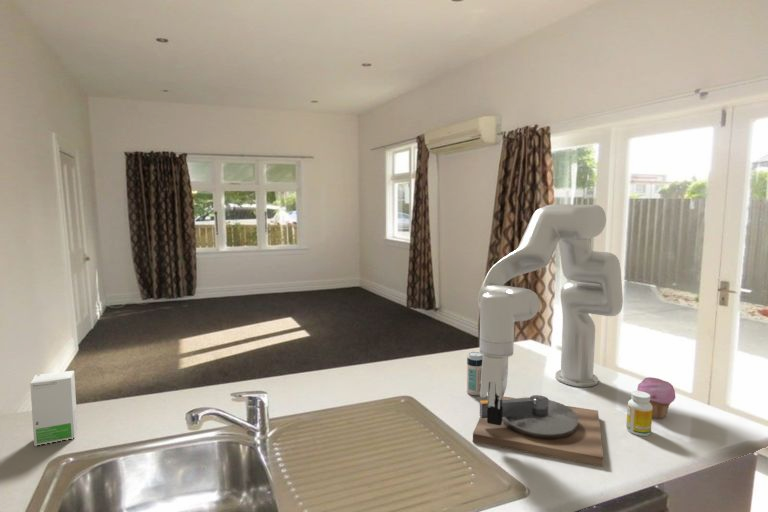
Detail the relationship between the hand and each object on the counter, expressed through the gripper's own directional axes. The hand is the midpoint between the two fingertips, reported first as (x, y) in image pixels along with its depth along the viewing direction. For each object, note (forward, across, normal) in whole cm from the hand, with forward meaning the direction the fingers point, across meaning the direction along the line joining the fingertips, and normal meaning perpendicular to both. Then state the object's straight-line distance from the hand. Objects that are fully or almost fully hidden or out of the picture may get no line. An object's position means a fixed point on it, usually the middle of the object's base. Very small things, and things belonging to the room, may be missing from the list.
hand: (494, 422), depth 107 cm
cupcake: (+6, -31, +37) cm, 48 cm away
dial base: (+6, -12, +9) cm, 16 cm away
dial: (+3, -10, +6) cm, 13 cm away
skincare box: (+6, +35, -100) cm, 106 cm away
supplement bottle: (+6, -20, +32) cm, 38 cm away
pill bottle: (+6, -28, -10) cm, 30 cm away
